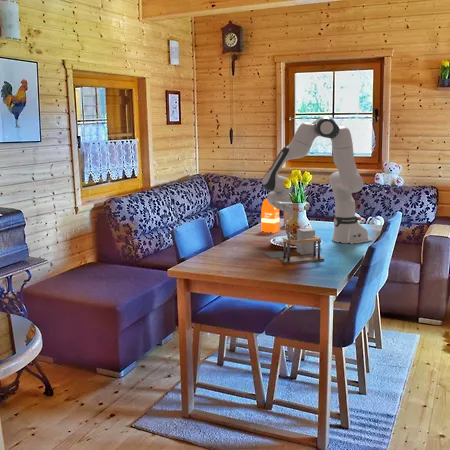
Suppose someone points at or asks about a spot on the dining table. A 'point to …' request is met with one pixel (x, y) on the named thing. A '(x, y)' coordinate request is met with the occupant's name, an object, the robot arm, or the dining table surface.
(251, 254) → the dining table surface
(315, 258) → the brown board
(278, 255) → the mat
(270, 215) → the orange juice
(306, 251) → the supplement box
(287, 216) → the candle
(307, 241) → the wooden post stand
